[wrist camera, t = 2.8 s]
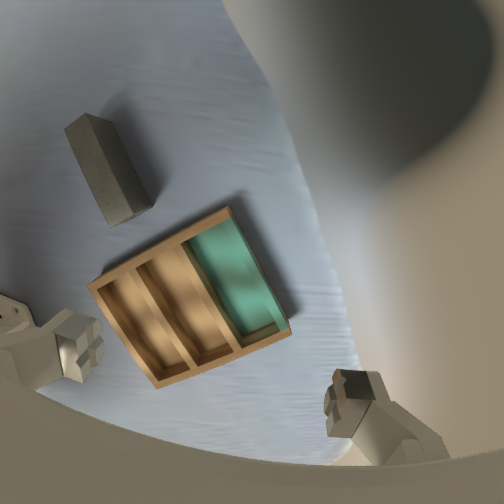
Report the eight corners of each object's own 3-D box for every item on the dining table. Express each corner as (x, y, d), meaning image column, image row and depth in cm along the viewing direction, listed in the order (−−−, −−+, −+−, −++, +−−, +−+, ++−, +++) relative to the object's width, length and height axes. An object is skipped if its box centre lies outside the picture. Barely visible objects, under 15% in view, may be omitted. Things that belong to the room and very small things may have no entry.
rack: (288, 319, 40) (292, 334, 36) (163, 372, 41) (156, 389, 38) (228, 205, 36) (226, 208, 32) (100, 275, 38) (86, 285, 34)
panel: (153, 206, 36) (133, 213, 29) (133, 218, 37) (110, 228, 30) (111, 122, 34) (85, 112, 27) (92, 135, 34) (64, 129, 27)
